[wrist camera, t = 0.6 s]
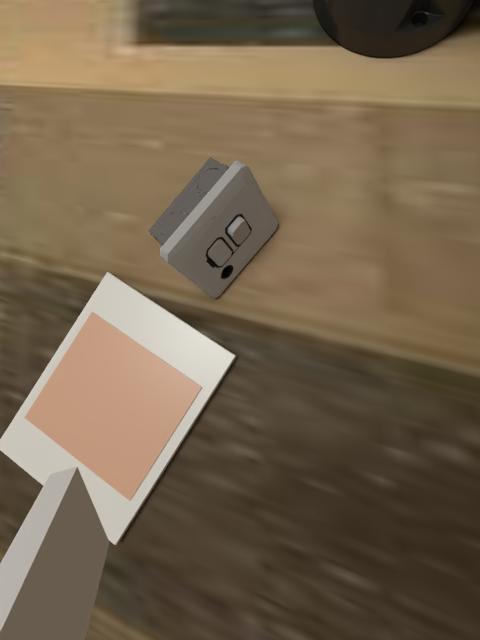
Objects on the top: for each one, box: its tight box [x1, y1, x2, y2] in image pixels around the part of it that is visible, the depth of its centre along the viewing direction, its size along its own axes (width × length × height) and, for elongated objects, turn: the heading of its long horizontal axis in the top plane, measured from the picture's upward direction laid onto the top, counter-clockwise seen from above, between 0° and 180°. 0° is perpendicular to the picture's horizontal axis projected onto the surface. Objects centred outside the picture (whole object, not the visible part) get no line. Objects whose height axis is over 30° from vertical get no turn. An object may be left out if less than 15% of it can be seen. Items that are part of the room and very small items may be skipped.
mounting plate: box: [0, 272, 237, 545], centre depth 36 cm, size 20×15×1 cm
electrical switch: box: [149, 158, 278, 298], centre depth 32 cm, size 9×5×9 cm, turn 139°
